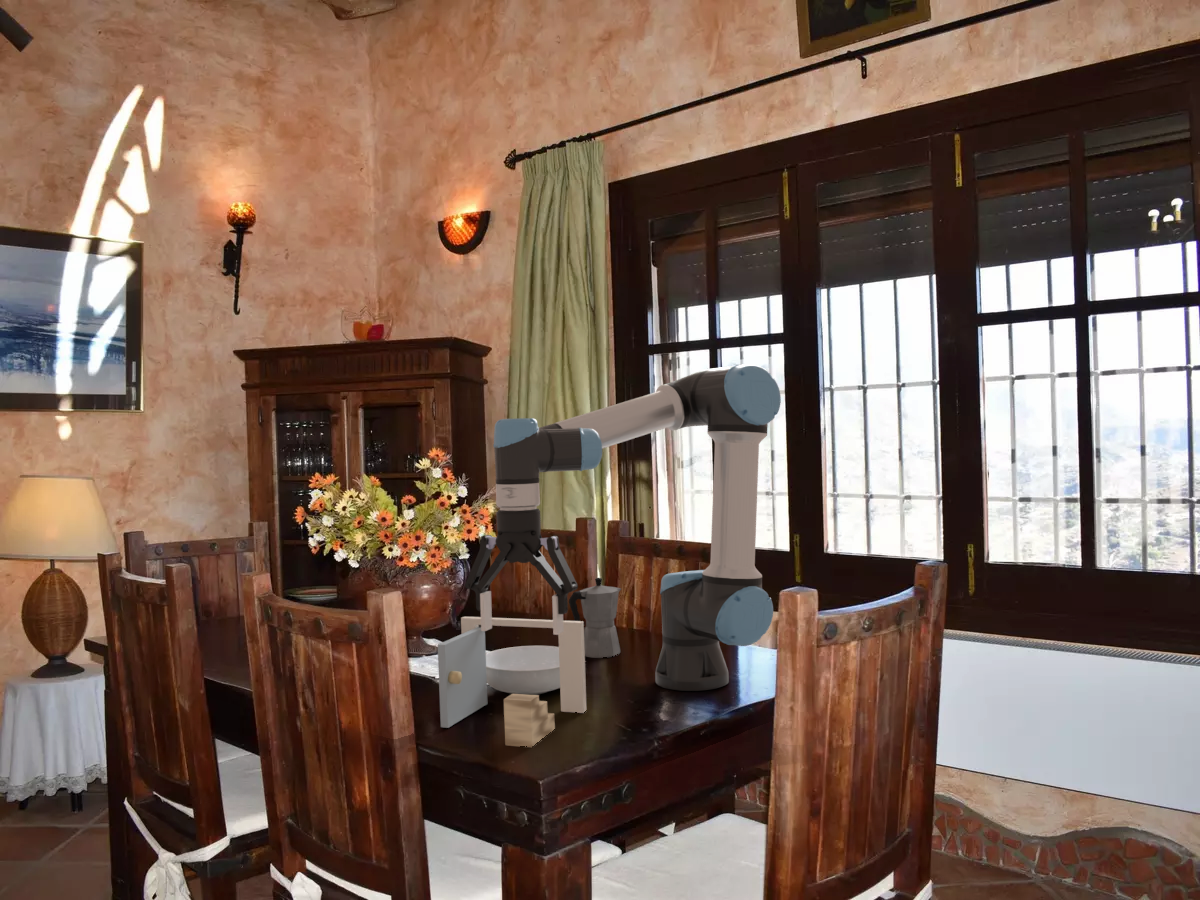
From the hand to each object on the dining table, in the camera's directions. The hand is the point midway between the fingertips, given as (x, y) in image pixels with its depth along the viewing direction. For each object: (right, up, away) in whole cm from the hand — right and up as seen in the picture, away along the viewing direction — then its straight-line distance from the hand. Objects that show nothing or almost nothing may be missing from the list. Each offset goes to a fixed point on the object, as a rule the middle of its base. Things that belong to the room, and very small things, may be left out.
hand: (522, 631), depth 168 cm
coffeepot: (+13, -17, +62) cm, 66 cm away
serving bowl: (-1, -18, +33) cm, 38 cm away
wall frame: (-1, -18, +20) cm, 27 cm away
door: (-11, -18, +15) cm, 26 cm away
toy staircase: (+1, -19, +2) cm, 19 cm away
